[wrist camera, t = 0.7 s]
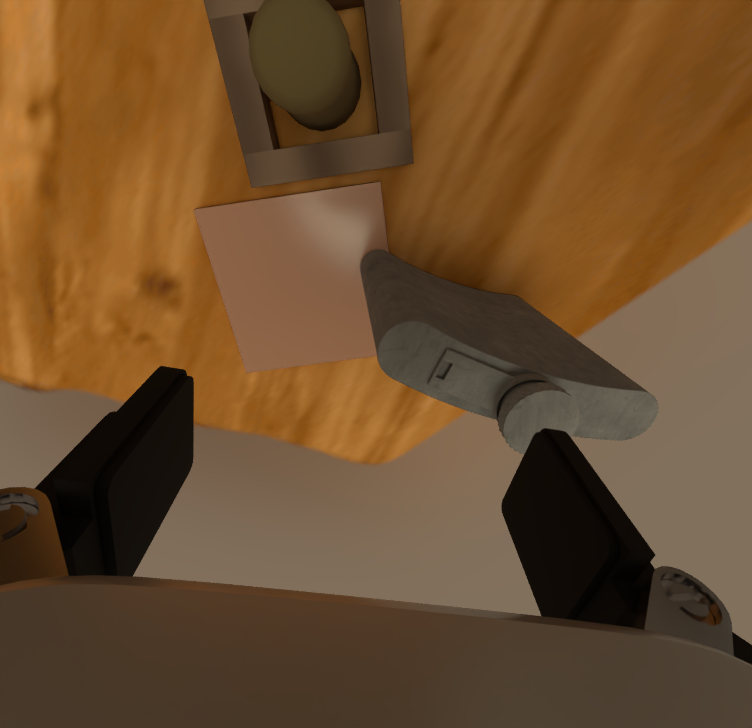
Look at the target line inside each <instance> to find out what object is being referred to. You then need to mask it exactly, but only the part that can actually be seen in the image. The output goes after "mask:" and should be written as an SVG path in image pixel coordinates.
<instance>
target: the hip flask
mask: <svg viewBox="0 0 752 728" xmlns="http://www.w3.org/2000/svg"><path fill="white" fill-rule="evenodd" d="M360 273H361V278H362V283H363V288H364V293H365V298H366V303H367V308H368V313H369V318H370V323H371V327H372V332H373V337H374V342H375V347H376V352H377V357H378V361H379V364H380V366H381V368H382V370H383V371H384V372H385V373H386V374H387V375H388V376H390V377H391V378H393V379H395V380H397V381H399V382H401V383H403V384H405V385H407V386H409V387H411V388H413V389H415V390H417V391H419V392H422V393H424V394H426V395H428V396H430V397H433V398H435V399H438V400H440V401H443V402H445V403H448V404H450V405H453V406H456V407H458V408H461V409H464V410H467V411H470V412H473V413H476V414H479V415H482V416H485V417H489V418H492V419H496V420H497V421H498V426H499V431H500V432H501V433H502V436H503V437H504V438H505V440H506V442H507V443H508V444H509V446H510V447H511V448H513V449H514V450H515V451H518V452H519V453H521V454H525V452H526V450H527V448H528V446H529V444H530V442H531V440H532V437H533V436H534V434H535V433H536V432H540V431H541V430H542V429H544V428H549V429H555V430H561V431H565V432H566V433H568V435H569V436H570V437H572V436H575V437H584V438H592V439H605V440H627V439H631V438H634V437H636V436H638V435H640V434H641V433H643V432H644V431H646V429H648V428H649V427H650V426H651V424H652V423H653V422H654V420H655V418H656V416H657V413H658V402H657V400H656V398H655V397H654V396H653V395H652V394H650V393H649V392H647V391H646V390H645V389H643V388H642V387H641V386H639V385H638V384H637V383H635V382H634V381H632V380H631V379H630V378H629V377H627V376H626V375H624V374H623V373H622V372H620V371H619V370H618V369H616V368H615V367H613V366H612V365H611V364H609V363H608V362H607V361H605V360H604V359H603V358H601V357H600V356H599V355H597V354H596V353H594V352H593V351H592V350H590V349H589V348H587V347H586V346H585V345H583V344H582V343H581V342H579V341H578V340H577V339H575V338H574V337H573V336H571V335H570V334H569V333H567V332H566V331H564V330H563V329H562V328H560V327H559V326H558V325H556V324H555V323H554V322H552V321H551V320H549V319H548V318H547V317H545V316H544V315H543V314H541V313H540V312H539V311H537V310H536V309H534V308H533V307H532V306H530V305H529V304H528V303H526V302H525V301H524V300H522V299H521V298H519V297H518V296H515V295H507V294H499V293H492V292H487V291H483V290H478V289H474V288H470V287H467V286H463V285H460V284H457V283H454V282H451V281H448V280H445V279H442V278H439V277H437V276H434V275H432V274H429V273H427V272H425V271H423V270H420V269H418V268H416V267H414V266H412V265H410V264H408V263H406V262H404V261H403V260H401V259H399V258H397V257H396V256H394V255H392V254H391V253H389V252H387V251H385V250H380V249H377V250H373V251H370V252H369V253H367V254H366V255H365V256H364V258H363V259H362V261H361V264H360Z"/></svg>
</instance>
